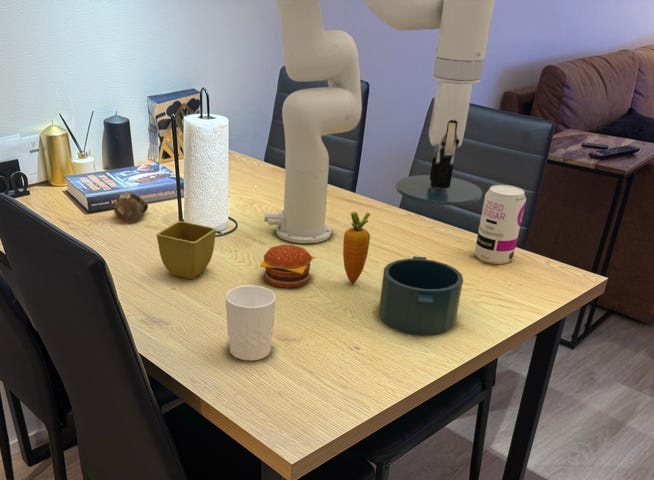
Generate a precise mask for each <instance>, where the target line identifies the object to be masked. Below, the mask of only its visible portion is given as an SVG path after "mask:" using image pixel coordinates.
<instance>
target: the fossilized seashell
mask: <svg viewBox="0 0 654 480" xmlns="http://www.w3.org/2000/svg"><path fill="white" fill-rule="evenodd" d="M148 208H149V204H147V202H146V201H145V200H144V199H143V198H142V197H140V195H137V194H135V193H132V192H123V193H121V194H119V195H118V197H117V199H116V200H115V201H114V203H113V211H114V214H115V216H116V217H117V218H119V219H121V220H122V221H125V222H136V221H138V220H140V219H141V218H142V216H143V214H144V213H146V212H147V211H148Z"/></svg>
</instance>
